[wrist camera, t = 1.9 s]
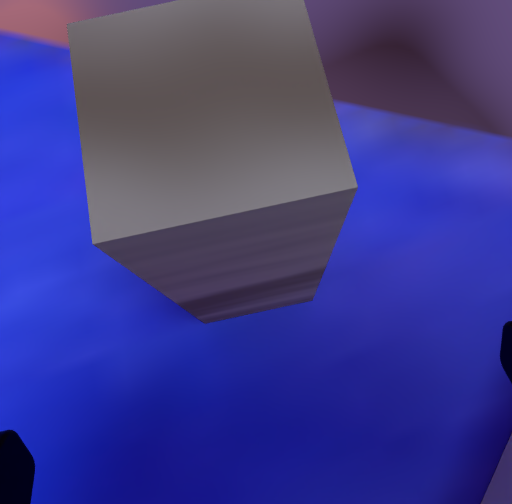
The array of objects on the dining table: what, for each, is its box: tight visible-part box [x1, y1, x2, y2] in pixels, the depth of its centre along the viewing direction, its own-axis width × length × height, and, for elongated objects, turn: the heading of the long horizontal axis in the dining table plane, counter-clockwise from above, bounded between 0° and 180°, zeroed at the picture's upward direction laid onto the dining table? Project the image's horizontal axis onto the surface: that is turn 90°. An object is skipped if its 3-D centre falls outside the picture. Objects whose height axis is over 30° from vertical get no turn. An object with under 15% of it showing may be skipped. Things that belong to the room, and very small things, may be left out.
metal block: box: [67, 0, 358, 323], centre depth 15 cm, size 5×5×13 cm
